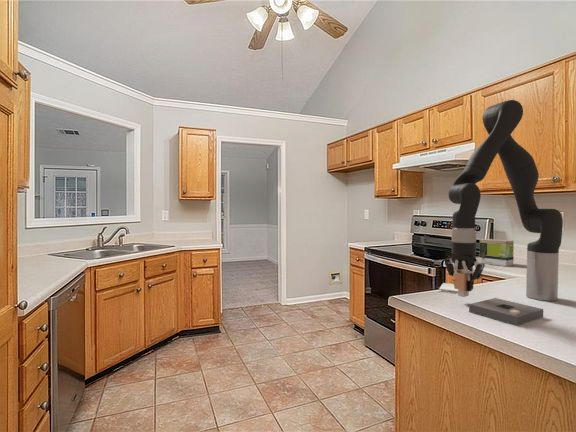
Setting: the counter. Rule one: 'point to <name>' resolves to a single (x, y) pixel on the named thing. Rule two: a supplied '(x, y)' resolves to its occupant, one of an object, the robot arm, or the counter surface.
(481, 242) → the tea box
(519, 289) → the counter surface
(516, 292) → the counter surface
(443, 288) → the hard drive
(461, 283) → the plug
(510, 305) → the socket board
